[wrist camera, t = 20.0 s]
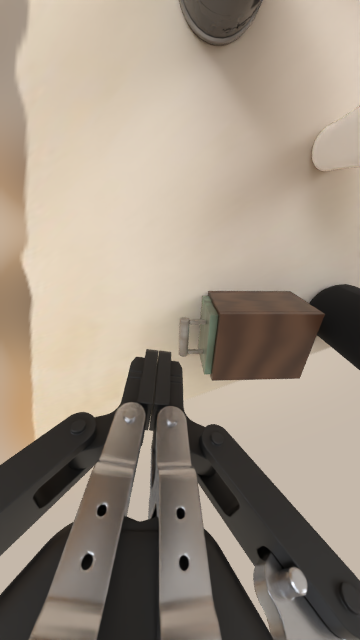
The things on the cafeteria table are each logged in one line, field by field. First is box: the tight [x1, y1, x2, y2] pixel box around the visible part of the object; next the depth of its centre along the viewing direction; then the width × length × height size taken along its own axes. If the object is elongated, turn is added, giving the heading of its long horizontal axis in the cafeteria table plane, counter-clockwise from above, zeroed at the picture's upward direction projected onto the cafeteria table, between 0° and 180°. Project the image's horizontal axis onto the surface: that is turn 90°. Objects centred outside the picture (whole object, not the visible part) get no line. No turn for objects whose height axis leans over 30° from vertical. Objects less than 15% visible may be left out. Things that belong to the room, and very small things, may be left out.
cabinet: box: [208, 291, 325, 380], centre depth 37 cm, size 16×13×10 cm
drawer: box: [179, 296, 219, 374], centre depth 37 cm, size 19×11×8 cm, turn 89°
